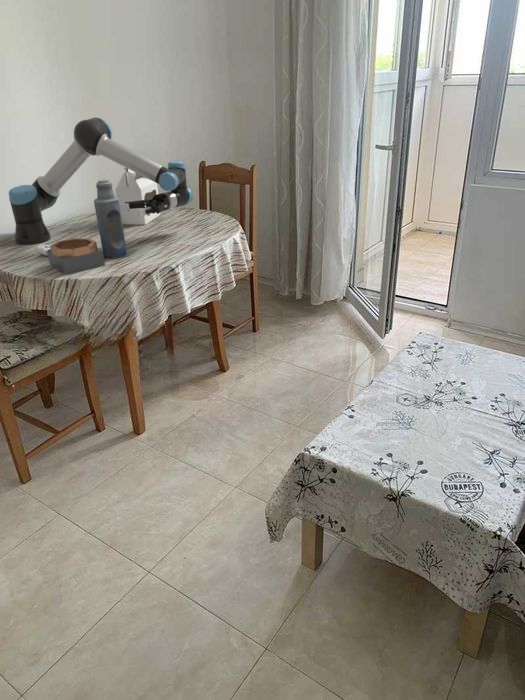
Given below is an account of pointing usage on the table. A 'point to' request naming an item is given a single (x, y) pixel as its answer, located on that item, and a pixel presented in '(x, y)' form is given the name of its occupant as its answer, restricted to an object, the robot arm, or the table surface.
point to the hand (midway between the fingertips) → (127, 211)
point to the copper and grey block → (75, 255)
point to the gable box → (135, 196)
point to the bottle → (109, 221)
